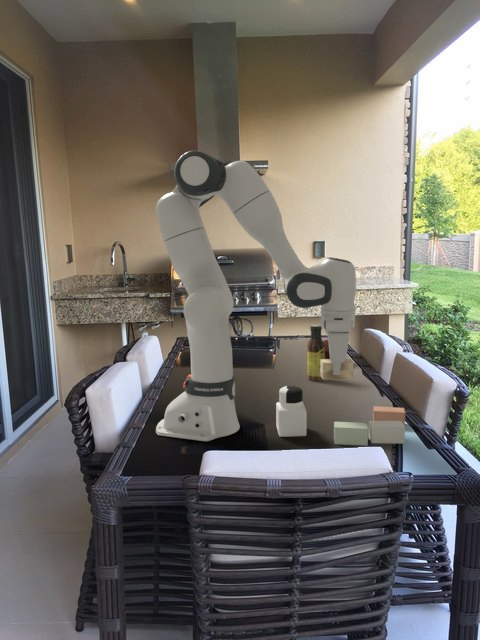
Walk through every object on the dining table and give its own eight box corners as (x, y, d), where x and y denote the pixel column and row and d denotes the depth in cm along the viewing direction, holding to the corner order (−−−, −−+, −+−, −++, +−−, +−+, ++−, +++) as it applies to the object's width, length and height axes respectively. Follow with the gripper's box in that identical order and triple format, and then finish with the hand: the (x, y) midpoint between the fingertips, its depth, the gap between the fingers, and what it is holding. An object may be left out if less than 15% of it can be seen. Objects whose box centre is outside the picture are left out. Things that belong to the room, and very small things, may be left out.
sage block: (334, 444, 123) (334, 427, 122) (333, 438, 127) (334, 421, 126) (367, 446, 122) (368, 428, 121) (366, 439, 126) (366, 422, 125)
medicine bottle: (302, 426, 135) (302, 383, 133) (306, 436, 128) (306, 391, 126) (276, 427, 135) (275, 384, 133) (279, 437, 128) (278, 392, 126)
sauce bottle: (324, 382, 178) (324, 327, 175) (306, 381, 179) (306, 327, 176) (324, 377, 184) (325, 324, 181) (307, 376, 185) (307, 324, 182)
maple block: (322, 379, 130) (322, 362, 130) (320, 375, 134) (320, 359, 134) (352, 379, 131) (353, 362, 130) (349, 375, 134) (350, 359, 134)
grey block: (371, 443, 123) (371, 426, 123) (368, 437, 127) (368, 420, 126) (404, 444, 123) (405, 426, 122) (400, 437, 127) (400, 420, 126)
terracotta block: (373, 426, 134) (374, 410, 134) (373, 421, 138) (373, 406, 137) (404, 428, 132) (405, 412, 132) (403, 423, 136) (403, 407, 136)
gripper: (325, 314, 141) (323, 361, 143) (325, 326, 121) (324, 381, 123) (347, 314, 140) (346, 362, 142) (352, 326, 120) (350, 382, 122)
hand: (336, 371), depth 132 cm, fingers closed on maple block, 4 cm apart
